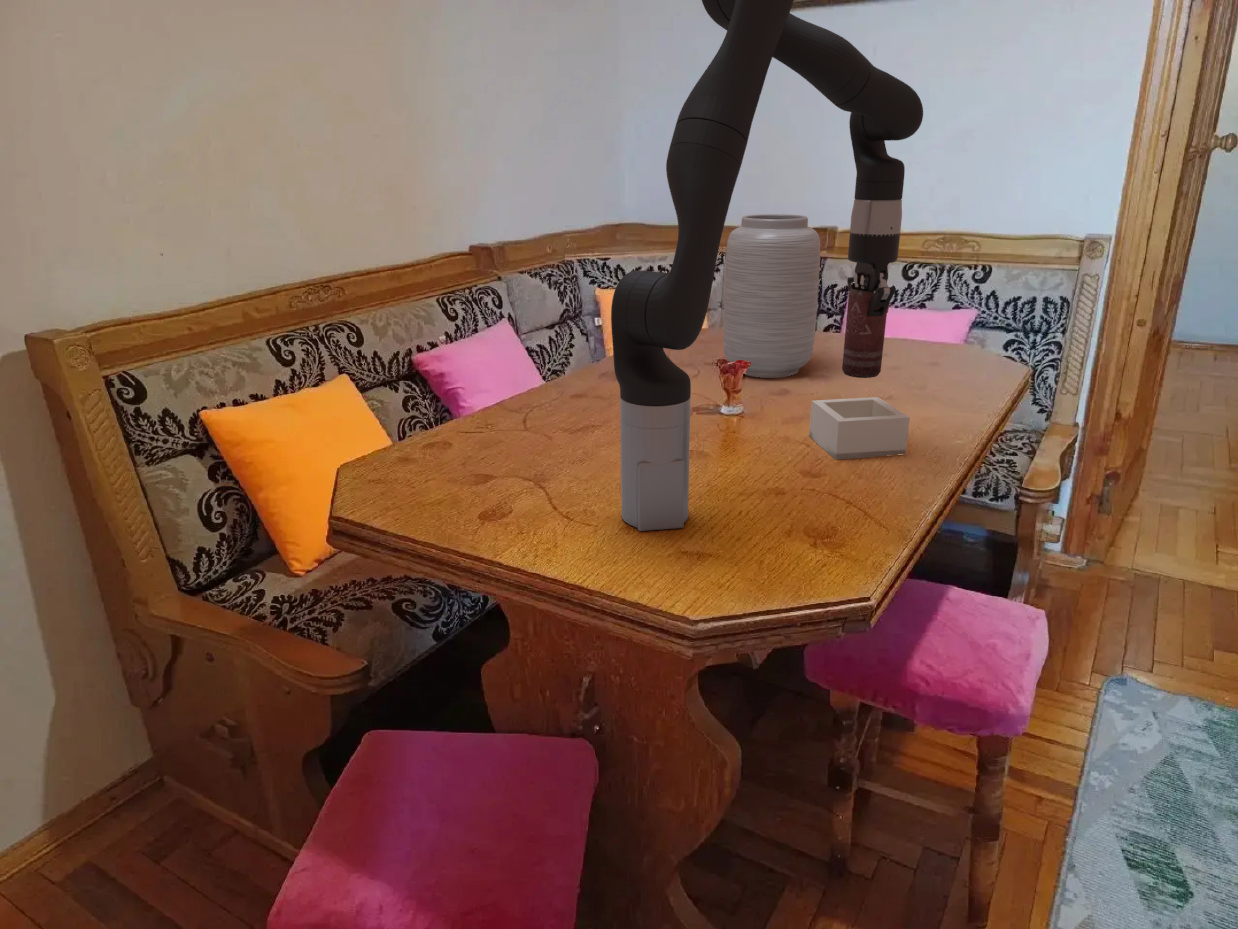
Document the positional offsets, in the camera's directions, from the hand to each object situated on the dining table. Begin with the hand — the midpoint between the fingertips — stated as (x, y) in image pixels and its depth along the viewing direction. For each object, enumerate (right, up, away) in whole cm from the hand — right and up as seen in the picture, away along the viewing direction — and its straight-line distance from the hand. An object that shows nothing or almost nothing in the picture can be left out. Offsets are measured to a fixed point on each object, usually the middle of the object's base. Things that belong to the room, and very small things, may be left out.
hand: (864, 340), depth 137 cm
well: (0, -17, +6) cm, 18 cm away
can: (0, -5, +2) cm, 6 cm away
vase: (-6, +1, +55) cm, 55 cm away
